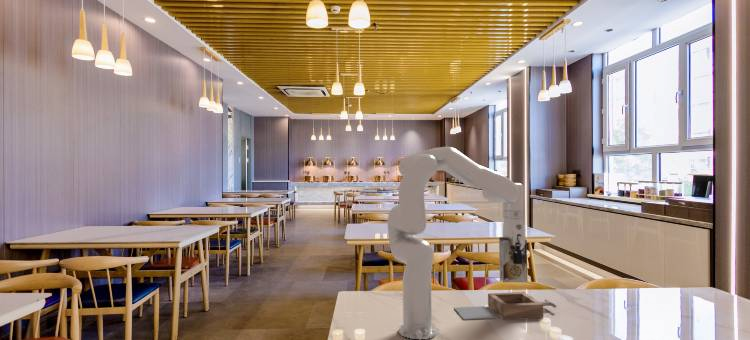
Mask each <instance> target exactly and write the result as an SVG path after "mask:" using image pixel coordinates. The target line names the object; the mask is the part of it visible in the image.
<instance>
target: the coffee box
mask: <svg viewBox="0 0 750 340" xmlns="http://www.w3.org/2000/svg"><path fill="white" fill-rule="evenodd" d="M527 241H528V240H527V239H525V245H524V247H523V253H522V264H514V263H513V253H514V248H513V246H512V245H511V240H509V239H507V238H504V237H503V236H502V237H498V242H499V243H498V244H499V245H498V246H499V247H498V248H499V250H498V252H499V256H498V257H499V279H500V280H501V282H502V283H528V251H527V250H528V249H527V247H528V246H527V243H528V242H527ZM515 245H519V242H518V243H515ZM517 248H518V247H516V249H517Z"/></svg>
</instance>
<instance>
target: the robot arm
mask: <svg viewBox="0 0 750 340" xmlns="http://www.w3.org/2000/svg"><path fill="white" fill-rule="evenodd" d="M397 167H398V168H397V169H398V172H399V174H400V175H401V176H402V178H401V180H400V183H399V185H398V193H397V194H398V205H397V204H396V205H395V206H393V207H392V208H391V209H390V211H389V213H388V216H387V233H388V240H389V242H388V243H389V249H390V252H391V254H392V256H393V258H394V259H395V260H396V261H398V262H401V263H403V264H405V268H404V271H403V276H402V319H403V320H402V325H400V326H399V327H398V334H399V333H400V334H399V335H400V336H401V337H403V336H404V337H403V338H405V337H407V338H406V339H408V338H410V339H409V340H412V339H419V340H421V339H425V340H430V339H432V338H434V337H435V336H436V335H437V328H436V327H435V326H434V325H432V323H433V322H432V321H433V319H432V315H433V314H432V268H433V263H434V258H435V257H434V256H435V255H434V254H435V253H434V249H433V246H432V245H431V244H430V242H428V241H427V240H425V239H423V238H419V237H415V235H416V236H417V235H421V234H422V233H424V231H425V230H426V228H427V215H426V214H427V213H426V206H425V188H426V186H427V184H428V182H429V181H430V179H431V178H432V177H434V175H435V174H436V172H438V171H440V172H441V171H443V172H445V173H447V174H449V175H450V176H452V177H453V178H455V179H456V180H458V181H460V182H461V183H463V184H464V185H467V186H469V187H472V188H476V189H482V191H481V192H482V196H483V198H484V199H485V200H486V201H488V202H491V203H502V219H503V222H502V227H503V228H502V237H504V238H507V239H509V240H511V245H512V246H513V248H514V253H513V263H514V264H522V253H523V247H524V245H525V240H526V229H525V222H524V221H525V220H524V196H525V195H524V190H525V189H524V188H525V187H524V185H523V184H522V183H520V182H514V181H512V180H511V179H510V178H508V177H507V176H505V175H503V174H501V173H500V172H497V171H494V170H492V169H489V168H487V167H485V166H482V165H480V164H479V163H476V162H475V161H473V160H472V159H471V158H469V157H468V156H466V155H465V154H463V153H462V152H461V151H460V150H458V149H457V148H454V147H452V146H441V147H433V148H430V149H426V150H422V151H419V152H415V153H411V154H407V155H405V156H404V157H402V158H401V159H400V161H399V162H398V166H397ZM518 242H519V245H515V243H518ZM516 247H518V248H517V249H516ZM429 338H430V339H429Z"/></svg>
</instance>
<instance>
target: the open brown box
mask: <svg viewBox="0 0 750 340" xmlns="http://www.w3.org/2000/svg"><path fill="white" fill-rule="evenodd" d="M545 306H546V307H549V306H550V307H553V308H554V309H555V308H557V304H555V303H554V302H552V301H550V300H549V299H546V298H545V299H544V301H539V300H537V299H536V298H534V297H533V296H532V295H529V294H528V293H526V292H525V291H516V292H515V291H514V292H489V293H487V307H489V308H490V307H491V308H492V309H493V310H494V311H493V310H492V309H491V308H490V309H491V310H492V311H493V312H495V313H496V314H497V316H499V315H500V316H501V317H502V320H504V319H509V320H520V319H519V318H529V319H540V318H539V317H543V318H544V307H545ZM500 316H499V317H500ZM501 317H500V318H501Z"/></svg>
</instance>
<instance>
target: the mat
mask: <svg viewBox="0 0 750 340" xmlns="http://www.w3.org/2000/svg"><path fill="white" fill-rule="evenodd" d="M453 309H454V311H455V310H456V311H457V312H458V313H459V314H458V313H457V312H456V311H455V312H456V313H457V314H458V315H459V317H461V318H463V319H464V320H463V319H462V320H463V321H473V320H472V319H477V320H491V319H492V320H495V318H497V316H495V315H494V314H493V313H492V312H490V311H489V309H487V308H486V307H485V306H484V305H482V306H480V305H479V306H463V307H458V306H456V307H453Z"/></svg>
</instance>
